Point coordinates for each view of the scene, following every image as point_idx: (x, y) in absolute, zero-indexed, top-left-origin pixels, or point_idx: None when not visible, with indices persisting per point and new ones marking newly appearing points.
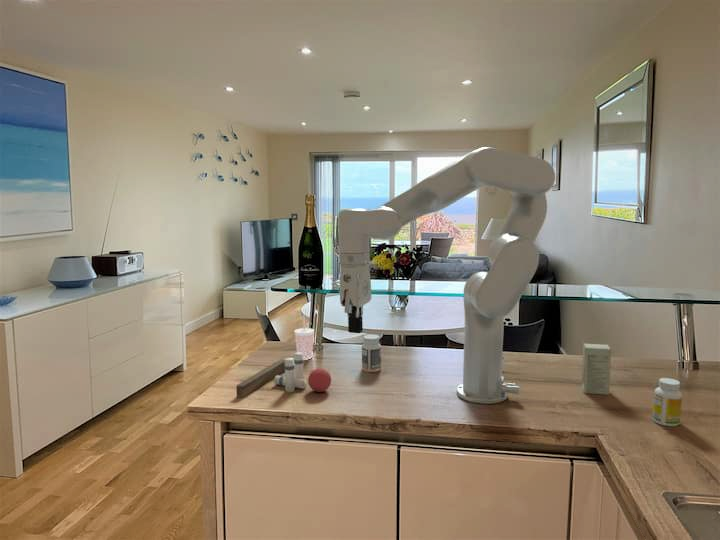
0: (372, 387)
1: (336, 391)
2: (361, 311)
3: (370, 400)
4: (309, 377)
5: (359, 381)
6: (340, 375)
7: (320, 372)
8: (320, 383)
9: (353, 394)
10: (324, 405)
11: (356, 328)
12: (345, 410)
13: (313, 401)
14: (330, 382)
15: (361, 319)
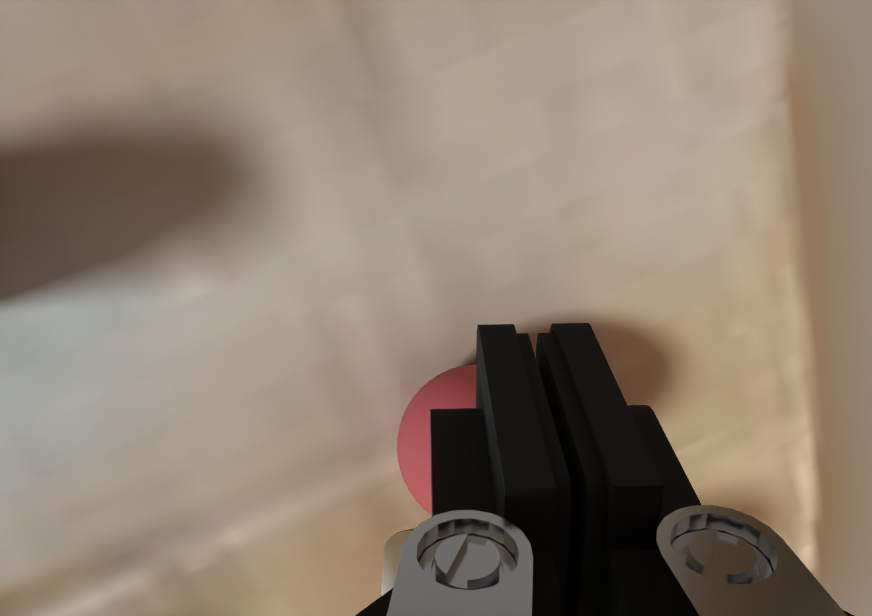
0: (259, 102)
1: (436, 310)
2: (509, 599)
3: (507, 22)
4: None
5: (194, 239)
6: (154, 400)
7: None
8: None
9: (444, 184)
10: (680, 285)
11: (637, 408)
12: (726, 127)
13: (638, 370)
14: (473, 370)
15: (543, 450)
